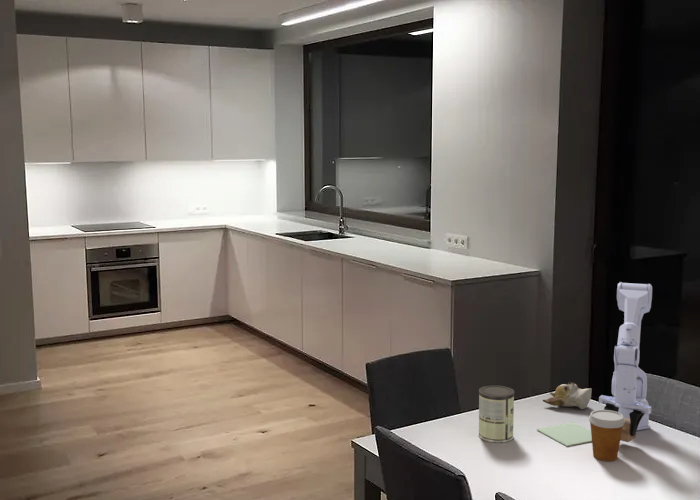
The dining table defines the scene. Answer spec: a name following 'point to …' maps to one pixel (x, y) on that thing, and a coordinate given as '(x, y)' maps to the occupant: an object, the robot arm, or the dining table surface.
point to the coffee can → (496, 413)
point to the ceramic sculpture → (570, 396)
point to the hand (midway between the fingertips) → (623, 432)
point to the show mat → (568, 434)
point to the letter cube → (626, 431)
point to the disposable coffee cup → (606, 433)
